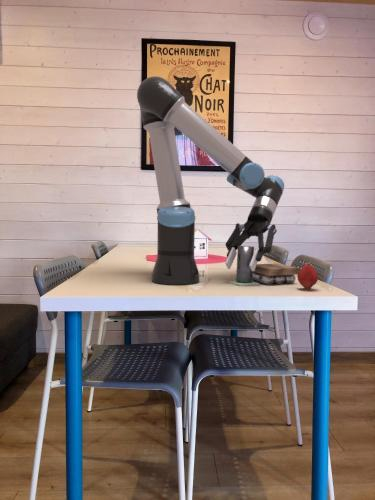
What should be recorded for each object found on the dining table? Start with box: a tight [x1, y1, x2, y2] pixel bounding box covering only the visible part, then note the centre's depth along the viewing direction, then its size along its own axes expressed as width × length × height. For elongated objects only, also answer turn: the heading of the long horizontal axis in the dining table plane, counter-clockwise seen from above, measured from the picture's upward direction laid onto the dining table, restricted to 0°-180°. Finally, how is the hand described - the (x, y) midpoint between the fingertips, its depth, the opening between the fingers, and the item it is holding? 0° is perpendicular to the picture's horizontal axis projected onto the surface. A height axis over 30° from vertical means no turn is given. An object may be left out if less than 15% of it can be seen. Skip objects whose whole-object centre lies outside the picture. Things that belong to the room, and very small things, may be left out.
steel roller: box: [235, 245, 255, 283], centre depth 142 cm, size 5×5×11 cm
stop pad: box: [228, 280, 261, 287], centre depth 142 cm, size 7×7×1 cm
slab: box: [253, 262, 300, 276], centre depth 146 cm, size 11×12×2 cm
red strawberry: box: [297, 262, 319, 291], centre depth 133 cm, size 6×6×8 cm
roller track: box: [252, 272, 296, 286], centre depth 146 cm, size 11×9×3 cm
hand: (239, 267), depth 139 cm, fingers open, 7 cm apart
